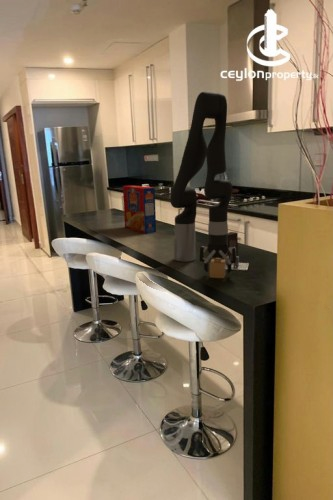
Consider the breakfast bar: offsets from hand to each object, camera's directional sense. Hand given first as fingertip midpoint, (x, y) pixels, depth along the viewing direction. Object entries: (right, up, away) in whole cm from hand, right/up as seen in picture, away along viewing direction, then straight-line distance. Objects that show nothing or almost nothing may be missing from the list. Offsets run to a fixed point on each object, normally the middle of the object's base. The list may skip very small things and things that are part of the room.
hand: (217, 272), depth 154 cm
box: (+9, +5, +25) cm, 27 cm away
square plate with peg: (+9, +2, +12) cm, 15 cm away
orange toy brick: (0, -1, 0) cm, 2 cm away
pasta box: (-38, +22, +99) cm, 108 cm away
